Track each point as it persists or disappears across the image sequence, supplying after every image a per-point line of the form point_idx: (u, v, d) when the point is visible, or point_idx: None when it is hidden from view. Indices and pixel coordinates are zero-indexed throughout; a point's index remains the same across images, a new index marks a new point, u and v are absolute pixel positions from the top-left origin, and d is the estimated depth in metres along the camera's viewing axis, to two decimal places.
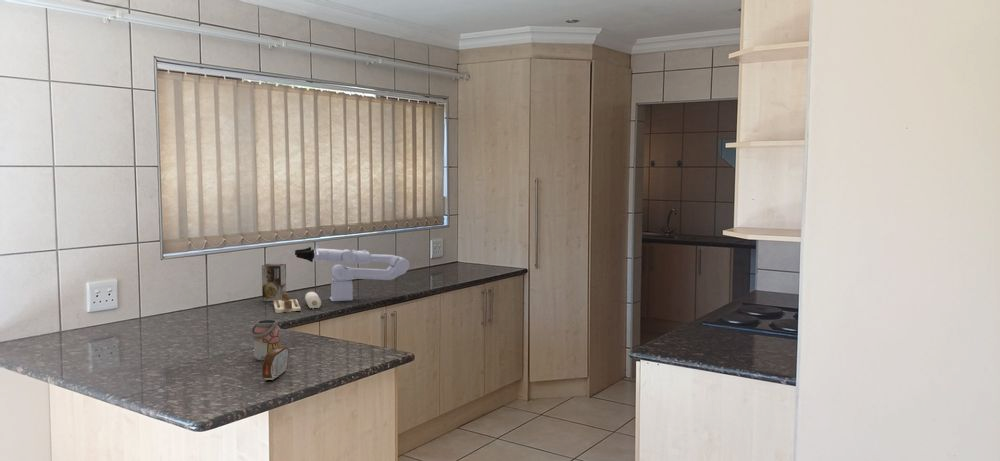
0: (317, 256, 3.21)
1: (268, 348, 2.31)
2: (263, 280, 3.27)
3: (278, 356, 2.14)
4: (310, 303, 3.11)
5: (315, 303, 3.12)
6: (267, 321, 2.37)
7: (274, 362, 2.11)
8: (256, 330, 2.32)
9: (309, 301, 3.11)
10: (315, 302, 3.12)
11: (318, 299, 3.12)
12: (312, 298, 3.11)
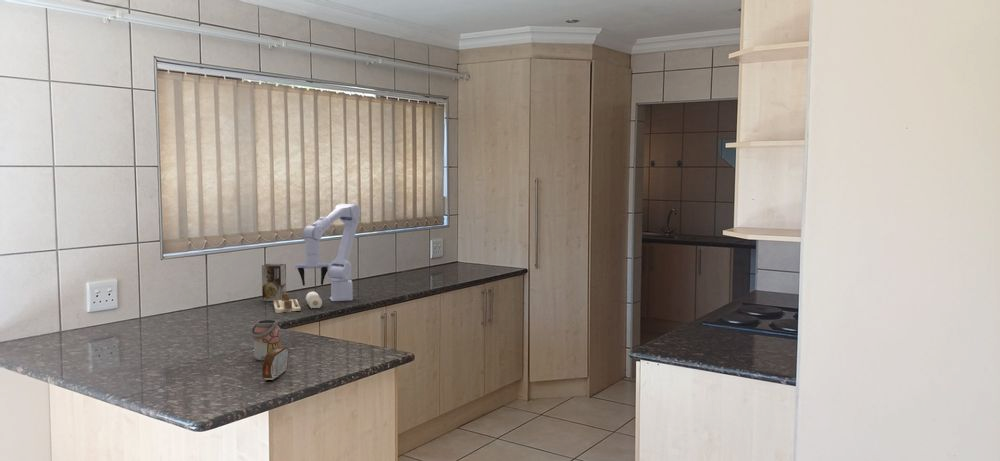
0: (329, 264, 3.18)
1: (268, 348, 2.31)
2: (263, 280, 3.27)
3: (278, 356, 2.14)
4: (311, 302, 3.11)
5: (316, 303, 3.12)
6: (267, 321, 2.37)
7: (274, 362, 2.11)
8: (256, 330, 2.32)
9: (310, 300, 3.11)
10: (316, 302, 3.12)
11: (319, 300, 3.13)
12: (314, 298, 3.12)
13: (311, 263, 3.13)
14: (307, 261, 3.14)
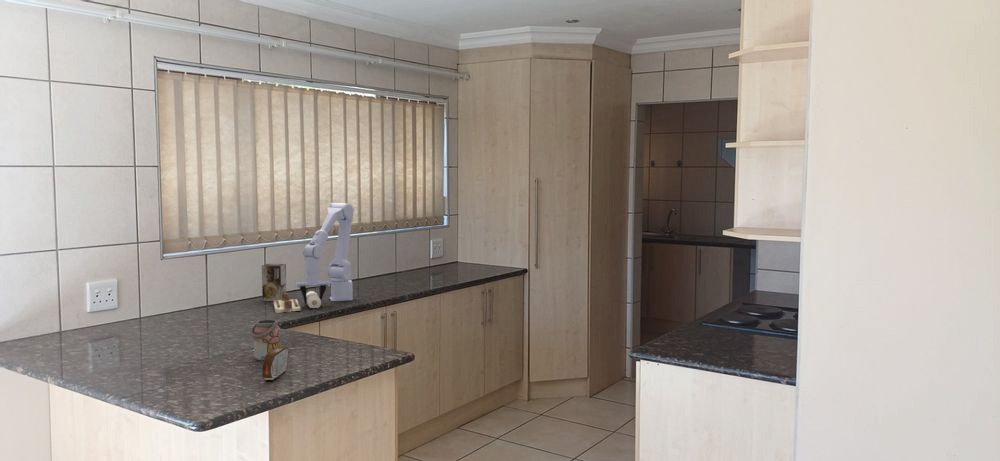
0: (329, 282, 3.19)
1: (268, 348, 2.31)
2: (263, 280, 3.27)
3: (278, 356, 2.14)
4: (310, 303, 3.11)
5: (315, 303, 3.12)
6: (267, 321, 2.37)
7: (274, 362, 2.11)
8: (256, 330, 2.32)
9: (309, 301, 3.11)
10: (315, 302, 3.12)
11: (318, 299, 3.12)
12: (312, 298, 3.11)
13: (311, 281, 3.14)
14: (307, 279, 3.14)
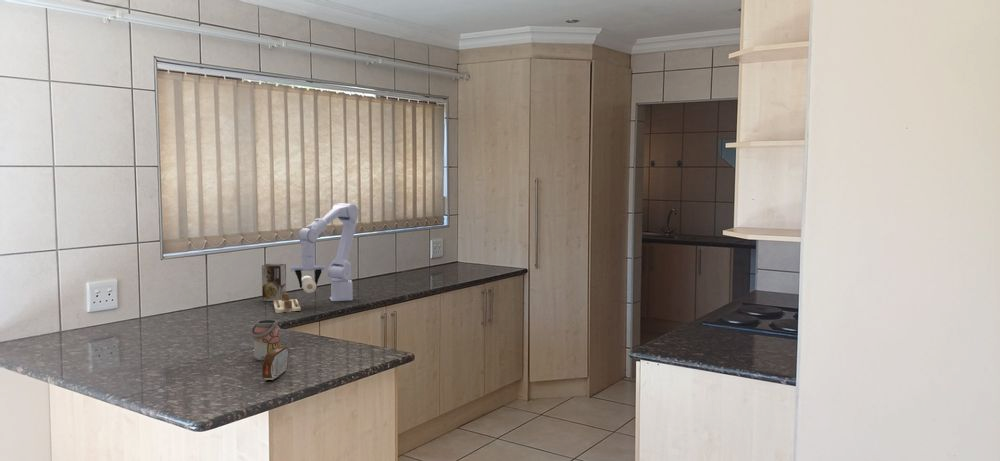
0: None
1: (268, 348, 2.31)
2: (263, 280, 3.27)
3: (278, 356, 2.14)
4: (305, 286, 3.10)
5: (310, 286, 3.10)
6: (267, 321, 2.37)
7: (274, 362, 2.11)
8: (256, 330, 2.32)
9: (304, 284, 3.10)
10: (310, 285, 3.10)
11: (313, 283, 3.11)
12: (307, 281, 3.10)
13: (306, 265, 3.12)
14: (302, 263, 3.13)
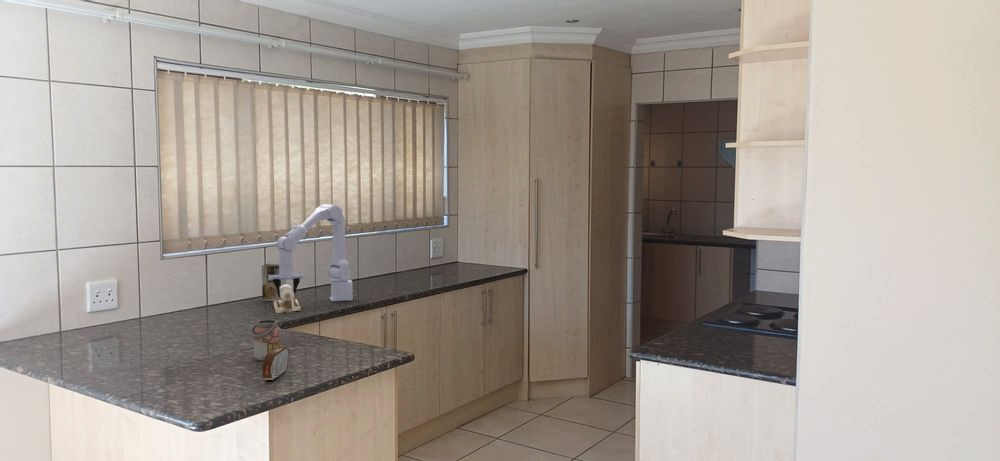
0: (303, 275, 3.15)
1: (268, 348, 2.31)
2: (263, 280, 3.27)
3: (278, 356, 2.14)
4: (283, 296, 3.07)
5: (288, 296, 3.08)
6: (267, 321, 2.37)
7: (274, 362, 2.11)
8: (256, 330, 2.32)
9: (282, 294, 3.07)
10: (288, 295, 3.08)
11: (291, 292, 3.08)
12: (285, 291, 3.07)
13: (284, 274, 3.10)
14: (280, 272, 3.10)
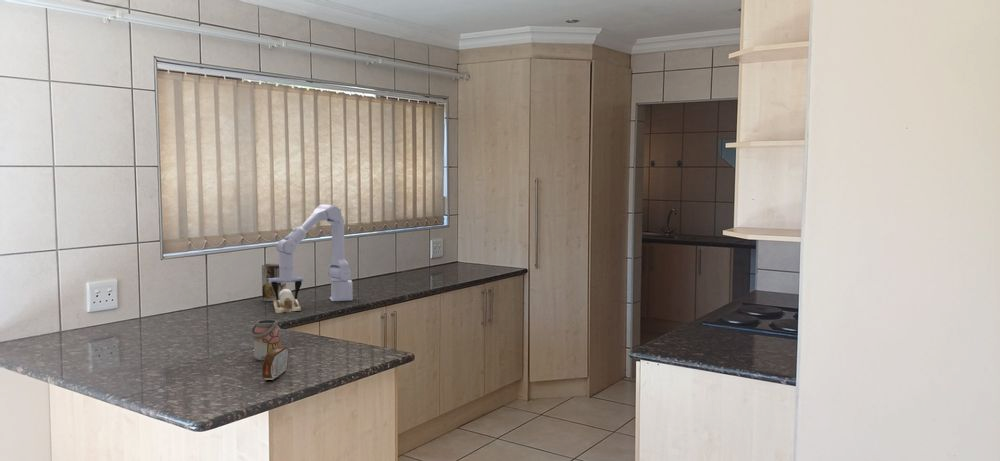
0: (303, 278, 3.15)
1: (268, 348, 2.31)
2: (263, 280, 3.27)
3: (278, 356, 2.14)
4: (283, 300, 3.07)
5: (288, 300, 3.08)
6: (267, 321, 2.37)
7: (274, 362, 2.11)
8: (256, 330, 2.32)
9: (282, 298, 3.07)
10: (288, 299, 3.08)
11: (291, 296, 3.08)
12: (285, 295, 3.07)
13: (284, 277, 3.10)
14: (280, 275, 3.10)
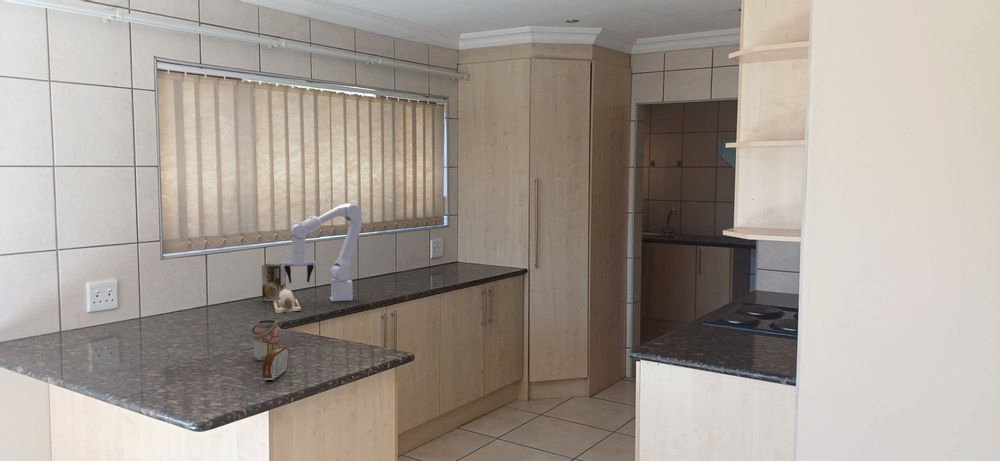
0: (315, 262, 3.24)
1: (268, 348, 2.31)
2: (263, 280, 3.27)
3: (278, 356, 2.14)
4: (283, 300, 3.07)
5: (288, 300, 3.08)
6: (267, 321, 2.37)
7: (274, 362, 2.11)
8: (256, 330, 2.32)
9: (282, 298, 3.07)
10: (288, 299, 3.08)
11: (292, 297, 3.08)
12: (286, 295, 3.07)
13: (297, 261, 3.19)
14: (293, 259, 3.20)
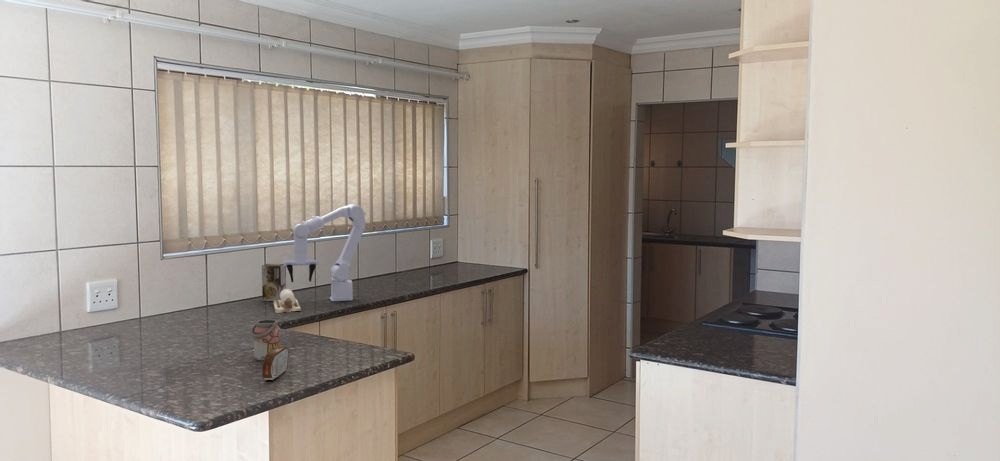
0: (317, 261, 3.26)
1: (268, 348, 2.31)
2: (263, 280, 3.27)
3: (278, 356, 2.14)
4: (284, 300, 3.07)
5: None
6: (267, 321, 2.37)
7: (274, 362, 2.11)
8: (256, 330, 2.32)
9: (283, 298, 3.07)
10: (289, 300, 3.08)
11: (293, 297, 3.09)
12: (287, 295, 3.08)
13: (299, 260, 3.21)
14: (295, 258, 3.21)
